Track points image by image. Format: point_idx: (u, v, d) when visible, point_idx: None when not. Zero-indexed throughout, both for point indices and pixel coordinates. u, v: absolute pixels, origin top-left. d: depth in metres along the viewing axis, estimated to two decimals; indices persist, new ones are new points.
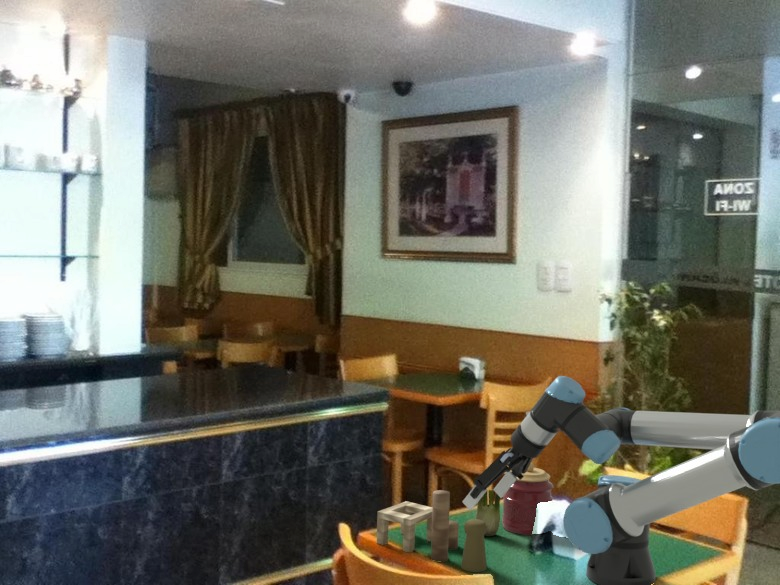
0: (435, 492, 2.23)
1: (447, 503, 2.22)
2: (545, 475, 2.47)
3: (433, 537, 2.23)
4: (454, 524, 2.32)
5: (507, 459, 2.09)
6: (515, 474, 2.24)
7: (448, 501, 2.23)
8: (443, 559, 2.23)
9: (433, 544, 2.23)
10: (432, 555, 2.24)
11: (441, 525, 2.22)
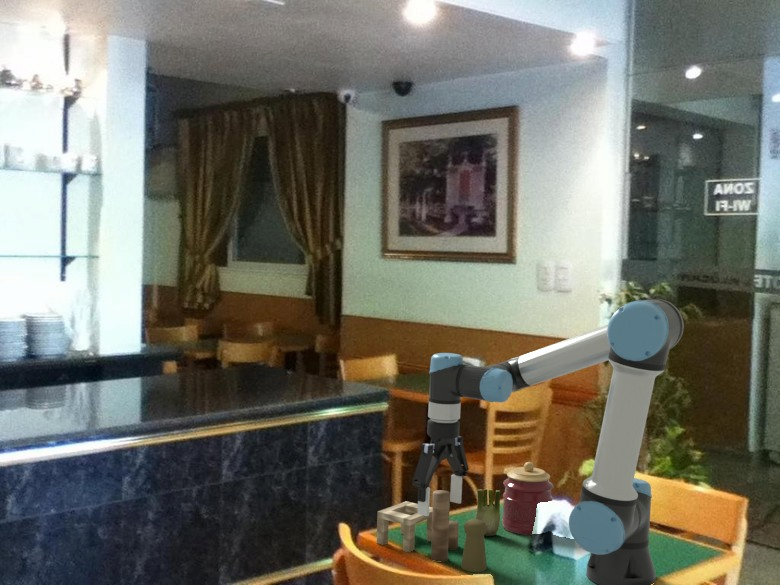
0: (435, 492, 2.23)
1: (447, 503, 2.22)
2: (545, 475, 2.47)
3: (433, 537, 2.23)
4: (454, 524, 2.32)
5: (429, 447, 2.17)
6: (459, 474, 2.29)
7: (448, 501, 2.23)
8: (443, 559, 2.23)
9: (433, 544, 2.23)
10: (432, 555, 2.24)
11: (441, 525, 2.22)
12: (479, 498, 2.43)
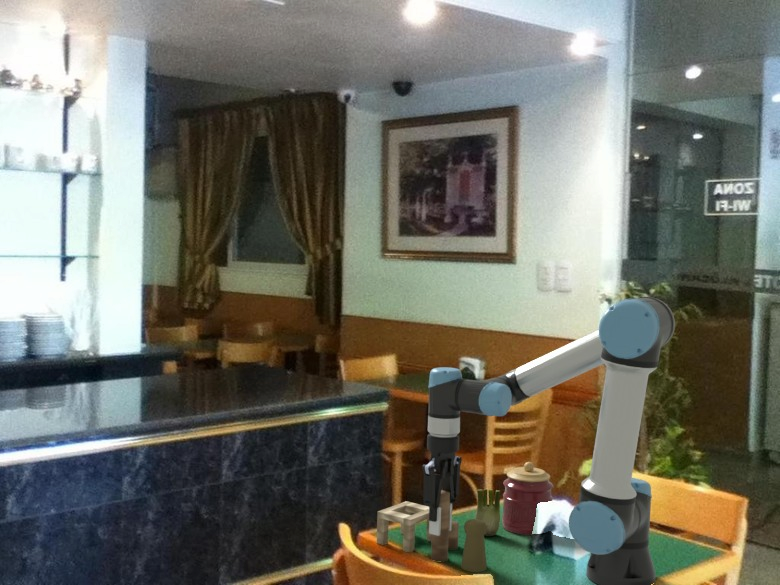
0: None
1: (447, 503, 2.22)
2: (545, 475, 2.47)
3: (433, 537, 2.23)
4: (454, 524, 2.32)
5: (429, 469, 2.17)
6: None
7: (448, 501, 2.23)
8: (443, 559, 2.23)
9: (433, 544, 2.23)
10: (432, 555, 2.24)
11: (441, 525, 2.22)
12: (479, 498, 2.43)
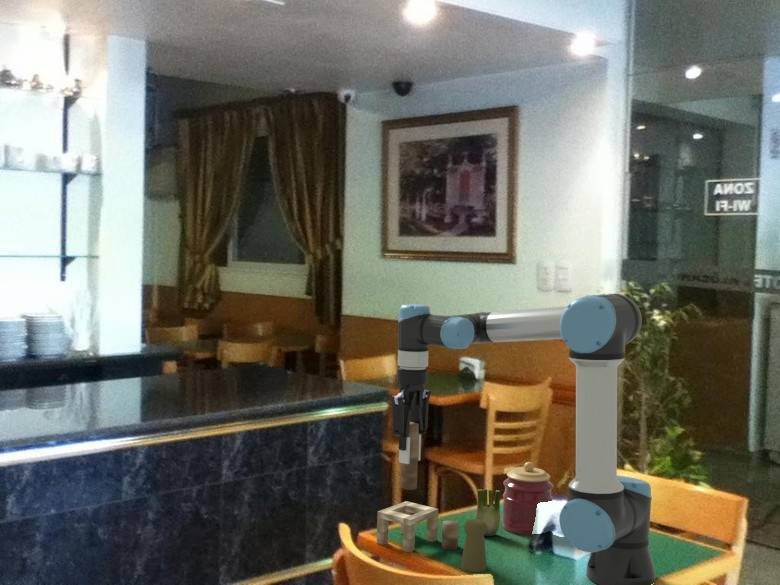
0: None
1: (416, 433, 2.33)
2: (545, 475, 2.47)
3: (402, 466, 2.34)
4: (454, 524, 2.32)
5: (398, 400, 2.28)
6: None
7: (417, 431, 2.33)
8: (412, 487, 2.34)
9: (403, 472, 2.34)
10: (402, 483, 2.34)
11: (410, 454, 2.33)
12: (479, 498, 2.43)
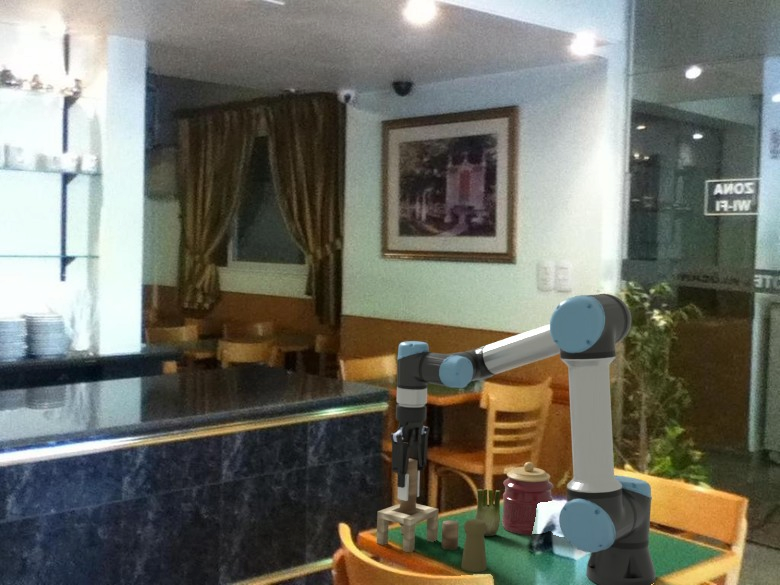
0: None
1: (414, 470, 2.34)
2: (545, 475, 2.47)
3: (401, 503, 2.35)
4: (454, 524, 2.32)
5: (397, 437, 2.29)
6: None
7: (416, 468, 2.34)
8: None
9: (401, 509, 2.35)
10: None
11: (409, 491, 2.34)
12: (479, 498, 2.43)
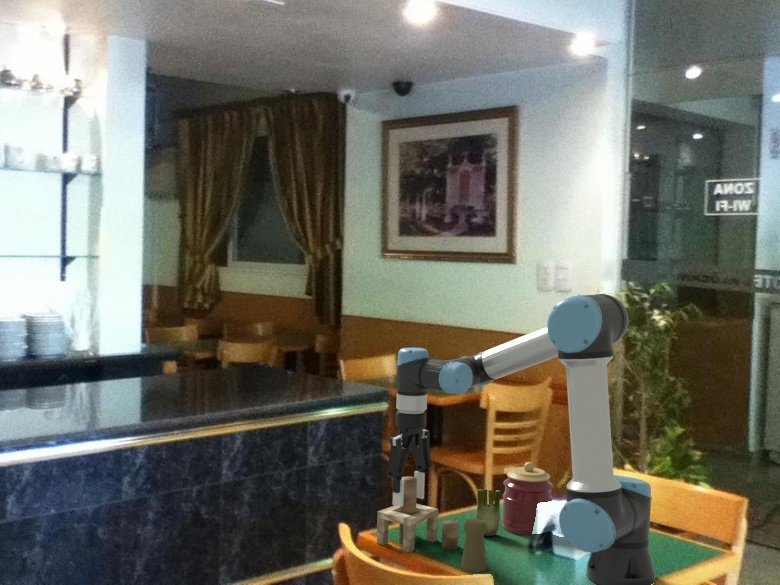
0: (403, 478, 2.35)
1: (414, 488, 2.34)
2: (545, 475, 2.47)
3: None
4: (454, 524, 2.32)
5: (396, 441, 2.29)
6: (421, 470, 2.39)
7: (415, 486, 2.34)
8: None
9: (401, 527, 2.35)
10: (400, 538, 2.35)
11: (408, 509, 2.34)
12: (479, 498, 2.43)
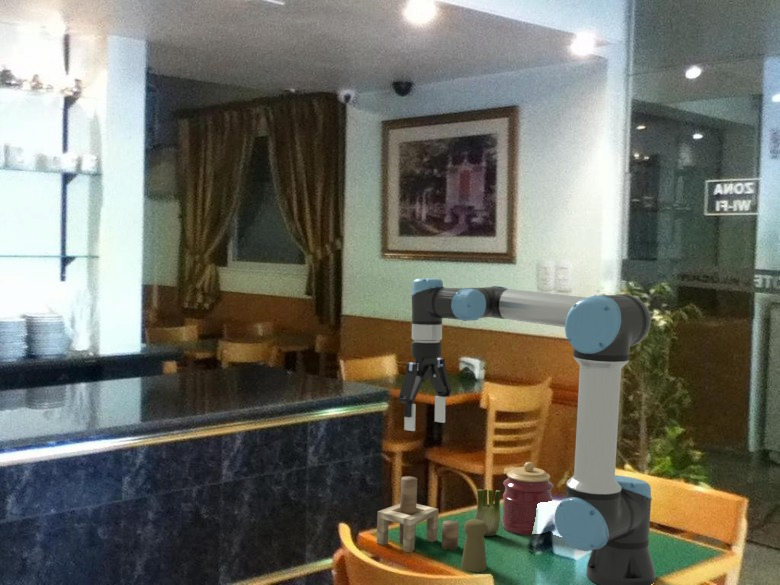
0: (403, 478, 2.35)
1: (414, 488, 2.34)
2: (545, 475, 2.47)
3: None
4: (454, 524, 2.32)
5: (413, 365, 2.29)
6: (442, 395, 2.41)
7: (415, 486, 2.34)
8: None
9: (401, 527, 2.35)
10: (400, 538, 2.35)
11: (408, 509, 2.34)
12: (479, 498, 2.43)
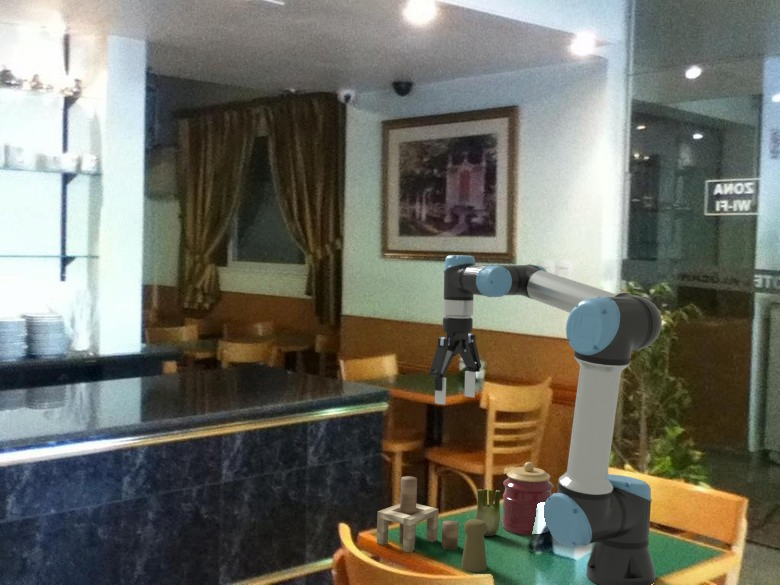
0: (403, 478, 2.35)
1: (414, 488, 2.34)
2: (545, 475, 2.47)
3: None
4: (454, 524, 2.32)
5: (444, 340, 2.34)
6: (472, 370, 2.46)
7: (415, 486, 2.34)
8: None
9: (401, 527, 2.35)
10: (400, 538, 2.35)
11: (408, 509, 2.34)
12: (479, 498, 2.43)
